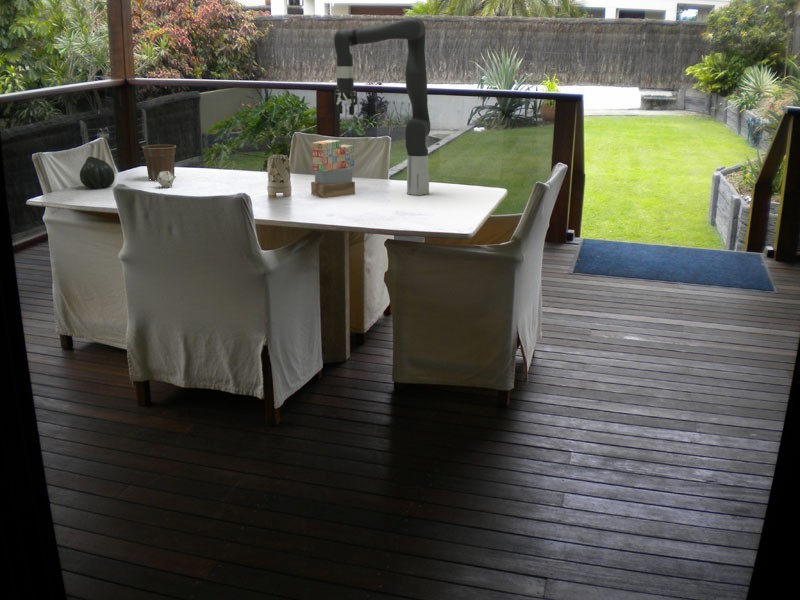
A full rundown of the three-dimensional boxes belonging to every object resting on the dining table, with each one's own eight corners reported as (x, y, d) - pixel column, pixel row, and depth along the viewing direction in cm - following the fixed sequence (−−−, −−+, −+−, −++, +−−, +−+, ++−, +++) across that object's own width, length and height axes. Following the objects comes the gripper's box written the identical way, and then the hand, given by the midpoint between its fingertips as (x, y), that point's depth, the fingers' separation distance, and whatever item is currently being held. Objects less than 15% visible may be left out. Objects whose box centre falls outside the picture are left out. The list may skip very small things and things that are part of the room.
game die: (162, 195, 395) (147, 178, 392) (172, 186, 402) (158, 169, 398) (173, 188, 390) (158, 170, 387) (183, 178, 396) (168, 161, 393)
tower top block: (352, 182, 378) (351, 168, 376) (323, 184, 371) (322, 170, 370) (343, 179, 385) (343, 166, 384) (315, 181, 379) (314, 168, 377)
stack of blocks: (343, 164, 387) (343, 137, 383) (354, 166, 384) (354, 138, 380) (312, 170, 370) (311, 142, 367) (323, 171, 367) (322, 143, 363)
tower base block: (354, 195, 380) (354, 182, 378) (323, 199, 371) (323, 185, 369) (342, 191, 389) (341, 178, 387) (311, 195, 380) (311, 181, 378)
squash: (123, 176, 392) (108, 149, 395) (94, 181, 381) (78, 154, 384) (113, 193, 402) (98, 167, 404) (84, 199, 391) (69, 172, 393)
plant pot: (152, 176, 426) (150, 143, 421) (183, 177, 424) (181, 144, 419) (139, 181, 411) (136, 147, 406) (170, 182, 408) (168, 148, 404)
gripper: (361, 77, 374) (362, 114, 379) (342, 76, 384) (343, 112, 389) (348, 77, 369) (348, 115, 374) (328, 76, 380) (329, 113, 385)
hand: (345, 114), depth 382 cm, fingers open, 8 cm apart
